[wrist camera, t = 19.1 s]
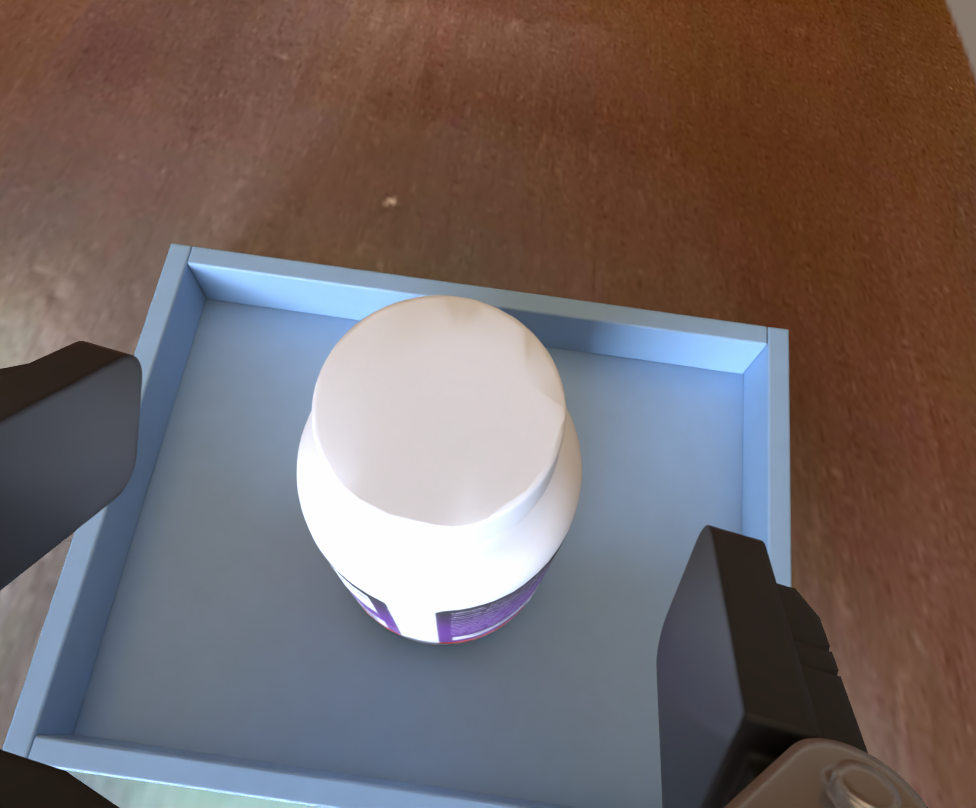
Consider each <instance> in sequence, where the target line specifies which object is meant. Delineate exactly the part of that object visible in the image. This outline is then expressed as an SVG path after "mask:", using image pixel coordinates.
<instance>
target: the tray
mask: <svg viewBox="0 0 976 808" xmlns="http://www.w3.org/2000/svg"><path fill="white" fill-rule="evenodd" d="M431 295H447V296H457V297H463V298H469V299H474V300H477V301H480V302H483V303H485V304H488V305H491V306H493V307H496V308H498V309H500V310H502V311H503V312H505V313H507V314H509V315H511V316H513V317H514V318H516V319H517V320H518V321H520V322H521V323H522V324H524V325H525V326H526V327H527V328H528V329H529V330H530V331H531V332H532V333H533V334H534V335H535V336H536V337H537V338H538V339H539V341H540V342H541V343H542V344H543V346H544V347H545V348H546V350H547V351H548V353H549V354H550V356H551V358H552V359H553V361H554V363H555V366H556V368H557V370H558V373H559V375H560V378H561V381H562V385H563V389H564V393H565V400H566V407H567V409H568V411H569V413H570V416H571V418H572V421H573V423H574V426H575V429H576V431H577V434H578V439H579V443H580V450H581V458H582V483H581V490H580V496H579V501H578V505H577V509H576V512H575V516H574V519H573V521H572V524H571V526H570V529H569V531H568V533H567V535H566V537H565V539H564V541H563V543H562V545H561V546H560V548H559V550H558V552H557V553H556V555H555V557H554V559H553V560H552V562H551V564H550V566H549V567H548V569H547V571H546V573H545V575H544V576H543V578H542V580H541V582H540V584H539V586H538V587H537V589H536V591H535V592H534V594H533V595H532V597H531V598H530V600H529V601H528V603H527V604H526V605H525V606H524V608H523V609H522V610H521V611H520V612H519V613H518V614H517V615H516V616H515V617H514V618H512V619H511V620H510V621H509V622H508V623H507V624H505V625H504V626H502V627H501V628H499V629H498V630H496V631H494V632H493V633H491V634H489V635H487V636H485V637H482V638H480V639H477V640H473V641H470V642H465V643H461V644H451V645H432V644H424V643H420V642H416V641H412V640H409V639H406V638H404V637H401V636H399V635H397V634H395V633H393V632H391V631H390V630H388V629H387V628H385V627H384V626H382V625H381V624H379V623H378V622H377V621H376V620H374V619H373V618H372V617H371V616H370V615H368V614H367V612H366V611H365V610H364V609H363V608H362V606H361V605H360V604H359V602H358V601H357V600H356V599H355V597H354V596H353V595H352V593H351V592H350V591H349V589H348V588H347V587H346V586H345V584H344V583H343V582H342V580H341V579H340V578H339V576H338V575H337V573H336V572H335V570H334V569H333V568H332V566H331V565H330V563H329V562H328V560H327V559H326V558H325V557H324V555H323V554H322V553H321V551H320V549H319V548H318V546H317V544H316V542H315V541H314V539H313V537H312V534H311V532H310V530H309V528H308V525H307V523H306V520H305V518H304V515H303V512H302V508H301V504H300V500H299V495H298V488H297V458H298V449H299V445H300V440H301V436H302V433H303V430H304V427H305V424H306V422H307V420H308V417H309V415H310V413H311V411H312V401H313V394H314V389H315V385H316V382H317V379H318V376H319V373H320V371H321V369H322V367H323V365H324V363H325V361H326V359H327V357H328V356H329V354H330V352H331V351H332V349H333V348H334V347H335V345H336V344H337V343H338V341H339V340H340V339H341V338H342V337H343V336H344V335H345V334H346V333H347V332H348V331H349V330H350V329H351V328H352V327H353V326H354V325H356V324H357V323H358V322H360V321H361V320H362V319H364V318H365V317H367V316H368V315H370V314H372V313H373V312H375V311H377V310H379V309H381V308H383V307H385V306H388V305H390V304H393V303H396V302H399V301H402V300H406V299H411V298H415V297H422V296H431ZM134 356H135V357H137V359H138V360H139V362H140V364H141V368H142V388H141V402H140V416H139V430H138V444H137V457H136V463H135V467H134V470H133V473H132V475H131V478H130V480H129V482H128V484H127V485H126V487H125V488H124V490H123V491H122V493H121V494H120V495H119V496H118V497H117V498H116V499H115V500H114V501H112V502H111V503H110V504H109V505H107V506H106V507H105V508H103V509H102V510H101V511H100V512H98V513H97V514H96V515H95V516H93V517H92V518H91V519H90V520H88V521H87V522H86V523H85V524H83V525H82V526H81V527H79V528H78V529H77V530H76V531H75V533H74V536H73V539H72V542H71V545H70V548H69V551H68V554H67V557H66V560H65V563H64V566H63V569H62V572H61V575H60V578H59V581H58V584H57V587H56V590H55V593H54V596H53V599H52V602H51V605H50V608H49V611H48V614H47V617H46V620H45V623H44V626H43V629H42V632H41V635H40V638H39V641H38V644H37V647H36V650H35V653H34V656H33V659H32V662H31V665H30V668H29V671H28V674H27V677H26V680H25V683H24V686H23V689H22V692H21V695H20V698H19V701H18V704H17V707H16V710H15V713H14V716H13V719H12V722H11V725H10V728H9V730H8V733H7V736H6V739H5V742H4V745H3V748H2V750H4V751H7V752H10V753H13V754H16V755H19V756H22V757H25V758H28V759H31V760H34V761H37V762H40V763H43V764H46V765H49V766H52V767H55V768H58V769H61V770H68V771H75V772H82V773H89V774H96V775H103V776H109V777H116V778H123V779H130V780H137V781H144V782H151V783H158V784H165V785H172V786H178V787H185V788H192V789H199V790H206V791H213V792H220V793H227V794H234V795H241V796H247V797H254V798H261V799H268V800H275V801H282V802H289V803H296V804H303V805H309V806H316V807H323V808H663V807H662V784H661V761H660V738H659V715H658V692H657V669H656V660H657V650H658V644H659V639H660V635H661V631H662V627H663V624H664V621H665V618H666V615H667V613H668V610H669V608H670V605H671V603H672V600H673V598H674V595H675V593H676V590H677V588H678V585H679V583H680V580H681V578H682V575H683V573H684V570H685V568H686V565H687V563H688V560H689V558H690V555H691V553H692V550H693V548H694V545H695V543H696V541H697V538H698V536H699V534H700V532H701V531H702V529H703V528H704V527H705V526H706V525H711V526H714V527H717V528H721V529H724V530H728V531H731V532H735V533H738V534H741V535H745V536H748V537H752V538H755V539H759V540H762V541H763V542H764V543H765V545H766V548H767V552H768V555H769V559H770V562H771V565H772V569H773V572H774V576H775V579H776V582H777V583H778V584H781V585H785V586H788V587H791V588H792V586H791V493H790V400H789V331H788V330H787V329H781V328H774V327H768V328H767V327H766V326H760V325H753V324H745V323H738V322H731V321H724V320H717V319H710V318H703V317H695V316H688V315H681V314H674V313H667V312H660V311H653V310H645V309H638V308H631V307H624V306H617V305H610V304H603V303H595V302H588V301H581V300H574V299H567V298H560V297H553V296H545V295H538V294H531V293H524V292H517V291H510V290H503V289H495V288H488V287H481V286H474V285H467V284H460V283H453V282H446V281H438V280H431V279H424V278H417V277H410V276H403V275H396V274H388V273H381V272H374V271H367V270H360V269H353V268H346V267H338V266H331V265H324V264H317V263H310V262H303V261H296V260H288V259H281V258H274V257H267V256H260V255H253V254H246V253H238V252H231V251H224V250H217V249H210V248H203V247H196V246H194V247H193V248H192V247H191V246H188V245H181V244H174V243H173V244H171V246H170V249H169V252H168V255H167V258H166V261H165V264H164V267H163V270H162V273H161V276H160V279H159V282H158V285H157V288H156V291H155V294H154V297H153V300H152V303H151V306H150V309H149V312H148V315H147V318H146V321H145V324H144V327H143V330H142V333H141V336H140V339H139V342H138V345H137V348H136V351H135V354H134Z"/></svg>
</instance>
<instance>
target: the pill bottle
mask: <svg viewBox="0 0 976 808" xmlns="http://www.w3.org/2000/svg"><path fill="white" fill-rule="evenodd" d="M581 483H582V458H581V450H580V443H579V439H578V434H577V431H576V429H575V426H574V423H573V421H572V418H571V416H570V413H569V411H568V409H567V407H566V400H565V393H564V389H563V385H562V381H561V378H560V375H559V373H558V370H557V368H556V366H555V363H554V361H553V359H552V358H551V356H550V354H549V353H548V351H547V350H546V348H545V347H544V346H543V344H542V343H541V342H540V341H539V339H538V338H537V337H536V336H535V335H534V334H533V333H532V332H531V331H530V330H529V329H528V328H527V327H526V326H525V325H524V324H522V323H521V322H520V321H518V320H517V319H516V318H514V317H513V316H511V315H509V314H507V313H505V312H503V311H502V310H500V309H498V308H496V307H493V306H491V305H488V304H485V303H483V302H480V301H477V300H474V299H469V298H463V297H457V296H447V295H431V296H422V297H415V298H411V299H406V300H402V301H399V302H396V303H393V304H390V305H388V306H385V307H383V308H381V309H379V310H377V311H375V312H373V313H372V314H370V315H368V316H367V317H365V318H364V319H362V320H361V321H360V322H358V323H357V324H356V325H354V326H353V327H352V328H351V329H350V330H349V331H348V332H347V333H346V334H345V335H344V336H343V337H342V338H341V339H340V340H339V341H338V343H337V344H336V345H335V347H334V348H333V349H332V351H331V352H330V354H329V356H328V357H327V359H326V361H325V363H324V365H323V367H322V369H321V371H320V373H319V376H318V379H317V382H316V385H315V389H314V394H313V401H312V411H311V413H310V415H309V417H308V420H307V422H306V424H305V427H304V430H303V433H302V436H301V440H300V445H299V449H298V458H297V488H298V495H299V500H300V504H301V508H302V512H303V515H304V518H305V520H306V523H307V525H308V528H309V530H310V532H311V534H312V537H313V539H314V541H315V542H316V544H317V546H318V548H319V549H320V551H321V553H322V554H323V555H324V557H325V558H326V559H327V560H328V562H329V563H330V565H331V566H332V568H333V569H334V570H335V572H336V573H337V575H338V576H339V578H340V579H341V580H342V582H343V583H344V584H345V586H346V587H347V588H348V589H349V591H350V592H351V593H352V595H353V596H354V597H355V599H356V600H357V601H358V602H359V604H360V605H361V606H362V608H363V609H364V610H365V611H366V612H367V614H368V615H370V616H371V617H372V618H373V619H374V620H376V621H377V622H378V623H379V624H381V625H382V626H384V627H385V628H387V629H388V630H390V631H391V632H393V633H395V634H397V635H399V636H401V637H404V638H406V639H409V640H412V641H416V642H420V643H424V644H432V645H451V644H461V643H465V642H470V641H473V640H477V639H480V638H482V637H485V636H487V635H489V634H491V633H493V632H494V631H496V630H498V629H499V628H501V627H502V626H504V625H505V624H507V623H508V622H509V621H510V620H511V619H512V618H514V617H515V616H516V615H517V614H518V613H519V612H520V611H521V610H522V609H523V608H524V606H525V605H526V604H527V603H528V601H529V600H530V598H531V597H532V595H533V594H534V592H535V591H536V589H537V587H538V586H539V584H540V582H541V580H542V578H543V576H544V575H545V573H546V571H547V569H548V567H549V566H550V564H551V562H552V560H553V559H554V557H555V555H556V553H557V552H558V550H559V548H560V546H561V545H562V543H563V541H564V539H565V537H566V535H567V533H568V531H569V529H570V526H571V524H572V521H573V519H574V516H575V512H576V509H577V505H578V501H579V496H580V490H581Z"/></svg>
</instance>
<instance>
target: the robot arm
mask: <svg viewBox="0 0 976 808" xmlns="http://www.w3.org/2000/svg"><path fill="white" fill-rule="evenodd" d="M141 388H142V368H141V364H140V362H139V360H138V359H137V357H135V356H133V355H130V354H126V353H123V352H119V351H116V350H112V349H109V348H106V347H102V346H99V345H95V344H92V343H89V342H85V341H78V342H75V343H73V344H71V345H69V346H66V347H64V348H62V349H60V350H58V351H55V352H53V353H51V354H49V355H47V356H44V357H42V358H40V359H38V360H36V361H33V362H31V363H29V364H24V365H18V366H13V367H8V368H3V369H0V590H1V589H3V588H4V587H5V586H6V585H8V584H9V583H10V582H11V581H13V580H14V579H15V578H16V577H18V576H19V575H20V574H21V573H23V572H24V571H25V570H27V569H28V568H29V567H30V566H32V565H33V564H34V563H35V562H37V561H38V560H39V559H40V558H42V557H43V556H44V555H45V554H47V553H48V552H49V551H50V550H52V549H53V548H54V547H56V546H57V545H58V544H59V543H61V542H62V541H63V540H64V539H66V538H67V537H68V536H69V535H71V534H72V533H73V532H74V531H76V530H77V529H78V528H79V527H81V526H82V525H83V524H85V523H86V522H87V521H88V520H90V519H91V518H92V517H93V516H95V515H96V514H97V513H98V512H100V511H101V510H102V509H103V508H105V507H106V506H107V505H109V504H110V503H111V502H112V501H114V500H115V499H116V498H117V497H118V496H119V495H120V494H121V493H122V491H123V490H124V488H125V487H126V485H127V484H128V482H129V480H130V478H131V475H132V473H133V470H134V467H135V463H136V457H137V444H138V430H139V416H140V402H141ZM829 647H830V646H829V643H828V640H827V637H826V634H825V632H824V629H823V626H822V623H821V620H820V618H819V616H818V615H817V614H816V613H815V612H814V611H813V609H812V608H811V607H810V606H809V605H808V603H807V602H806V601H805V600H804V599H803V598H802V596H801V595H800V594H799V593H798V592H797V590H796V589H795V588H791V587H788V586H785V585H781V584H778V583H777V582H776V579H775V576H774V572H773V569H772V565H771V562H770V559H769V555H768V552H767V548H766V545H765V543H764V542H763V541H762V540H759V539H755V538H752V537H748V536H745V535H741V534H738V533H735V532H731V531H728V530H724V529H721V528H717V527H714V526H711V525H706V526H705V527H704V528H703V529H702V531H701V532H700V534H699V536H698V538H697V541H696V543H695V545H694V548H693V550H692V553H691V555H690V558H689V560H688V563H687V565H686V568H685V570H684V573H683V575H682V578H681V580H680V583H679V585H678V588H677V590H676V593H675V595H674V598H673V600H672V603H671V605H670V608H669V610H668V613H667V615H666V618H665V621H664V624H663V627H662V631H661V635H660V639H659V644H658V650H657V660H656V669H657V692H658V715H659V738H660V761H661V784H662V807H663V808H928V807H927V806H926V804H925V803H924V802H923V800H922V799H921V797H920V796H919V795H918V794H917V793H916V792H915V790H914V789H913V788H912V787H911V786H910V785H909V784H908V783H907V782H906V781H905V780H904V779H903V778H902V777H901V776H900V775H898V774H897V773H896V772H895V771H893V770H892V769H891V768H890V767H888V766H887V765H885V764H884V763H882V762H881V761H879V760H878V759H876V758H875V757H873V756H871V755H869V754H868V752H867V749H866V746H865V744H864V741H863V738H862V735H861V732H860V730H859V727H858V724H857V721H856V718H855V716H854V713H853V710H852V707H851V704H850V702H849V699H848V696H847V693H846V690H845V688H844V685H843V682H842V679H841V677H840V676H837V673H838V668H837V665H836V662H835V660H834V657H833V654H832V652H830V651H829ZM0 808H119V807H118V806H116V805H115V804H113V803H112V802H110V801H109V800H107V799H106V798H104V797H103V796H101V795H100V794H98V793H97V792H95V791H94V790H93V789H91V788H90V787H88V786H87V785H85V784H84V783H82V782H81V781H79V780H78V779H76V778H75V777H73V776H72V775H71V774H69V773H68V772H66V771H64V770H61V769H58V768H55V767H52V766H49V765H46V764H43V763H40V762H37V761H34V760H31V759H28V758H25V757H22V756H19V755H16V754H13V753H10V752H7V751H4V750H0Z"/></svg>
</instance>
